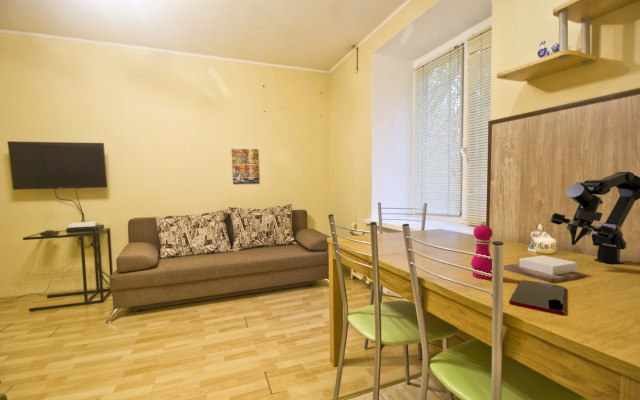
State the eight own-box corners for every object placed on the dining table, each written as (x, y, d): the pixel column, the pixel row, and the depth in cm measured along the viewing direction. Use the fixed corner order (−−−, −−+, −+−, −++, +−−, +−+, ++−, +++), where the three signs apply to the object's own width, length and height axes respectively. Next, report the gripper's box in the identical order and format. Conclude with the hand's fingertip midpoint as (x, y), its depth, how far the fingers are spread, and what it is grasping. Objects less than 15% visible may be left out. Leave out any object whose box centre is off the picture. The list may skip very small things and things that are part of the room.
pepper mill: (473, 272, 112) (474, 219, 111) (495, 275, 108) (496, 220, 107) (468, 277, 107) (469, 221, 106) (491, 281, 102) (492, 223, 101)
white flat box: (543, 255, 119) (519, 258, 115) (577, 262, 108) (552, 266, 104) (543, 262, 119) (519, 266, 115) (577, 270, 108) (552, 275, 104)
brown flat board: (531, 264, 122) (531, 261, 122) (582, 277, 105) (582, 273, 105) (502, 268, 117) (502, 265, 116) (551, 282, 100) (551, 279, 99)
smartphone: (567, 286, 94) (565, 312, 75) (566, 291, 94) (565, 318, 75) (520, 278, 102) (507, 300, 83) (520, 283, 102) (507, 306, 83)
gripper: (560, 194, 117) (545, 230, 115) (625, 209, 106) (610, 249, 104) (557, 204, 126) (543, 238, 124) (616, 219, 114) (602, 256, 113)
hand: (572, 245), depth 116 cm, fingers closed
